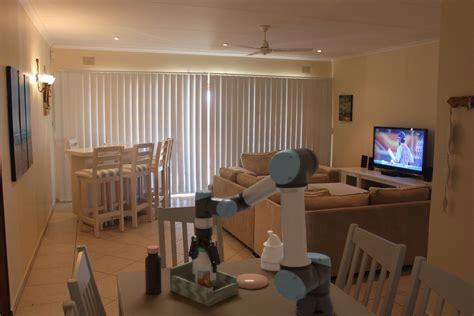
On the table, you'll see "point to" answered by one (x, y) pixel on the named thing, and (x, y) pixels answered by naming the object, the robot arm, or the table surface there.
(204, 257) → the milk bottle
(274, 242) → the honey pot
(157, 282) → the vinegar
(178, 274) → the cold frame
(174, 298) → the table surface
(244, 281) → the pink round disc
